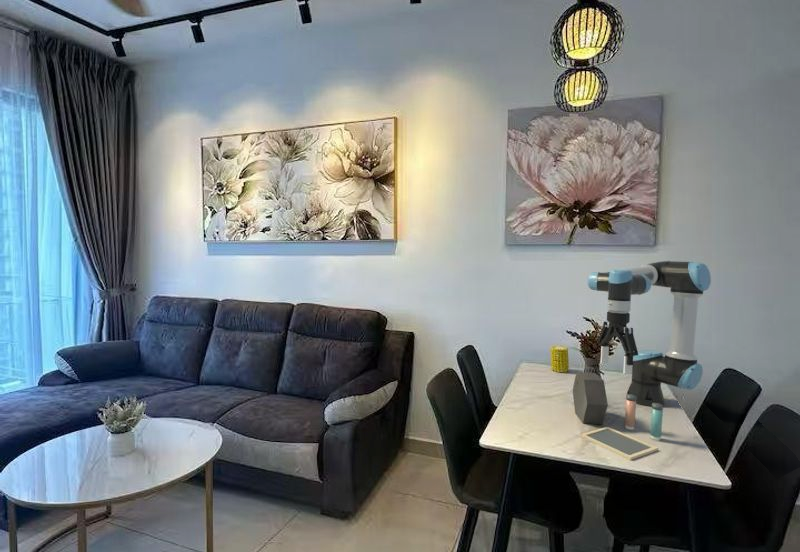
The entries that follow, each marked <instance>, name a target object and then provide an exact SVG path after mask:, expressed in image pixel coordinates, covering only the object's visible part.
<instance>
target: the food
mask: <svg viewBox="0 0 800 552" xmlns="http://www.w3.org/2000/svg"><path fill="white" fill-rule="evenodd" d="M549 351H550V363H551V370H552V371H553V370H554V372H557V373H558V372H559V373H561V372H562V373H568V372H569V369H570V367H569V365H570V364H569V356H570V355H569V348H568V347H567V346H564V345H561V344H560V345H559V344H557V345H552V346H550V350H549ZM567 371H568V372H567Z"/></svg>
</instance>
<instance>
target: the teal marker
mask: <svg viewBox="0 0 800 552" xmlns="http://www.w3.org/2000/svg"><path fill="white" fill-rule="evenodd" d="M663 410H664V405H662V404H660V403H652V406H651V415H650V416H651V419H650V421H651V422H650V431H649V432H650V433H649V434H650V440H652V441H655V442H659V441H661V437H662V427H663V416H664V415H663V413H664V411H663Z"/></svg>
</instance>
